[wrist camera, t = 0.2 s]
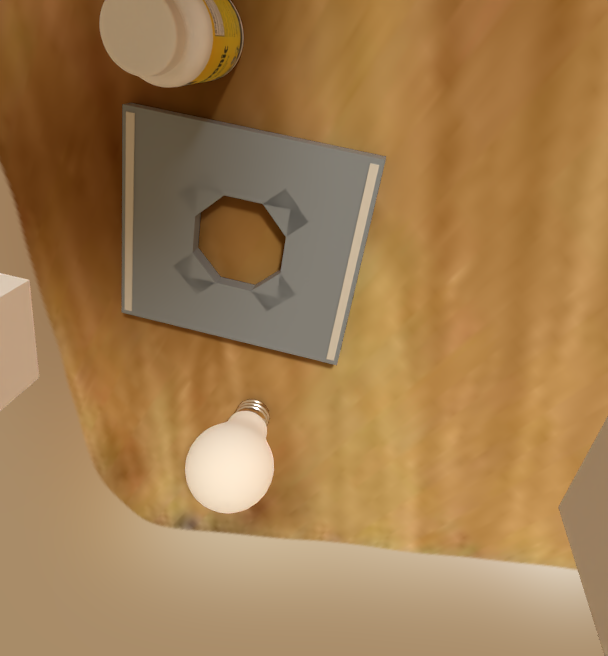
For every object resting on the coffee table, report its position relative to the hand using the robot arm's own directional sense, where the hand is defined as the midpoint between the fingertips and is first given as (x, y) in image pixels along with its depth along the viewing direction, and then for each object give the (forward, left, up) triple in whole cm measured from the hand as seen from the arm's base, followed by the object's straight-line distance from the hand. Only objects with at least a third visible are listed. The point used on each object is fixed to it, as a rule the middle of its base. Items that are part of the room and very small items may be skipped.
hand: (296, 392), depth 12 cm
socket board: (+7, -9, -27) cm, 29 cm away
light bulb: (+22, -6, -27) cm, 36 cm away
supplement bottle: (-6, -13, -28) cm, 31 cm away
